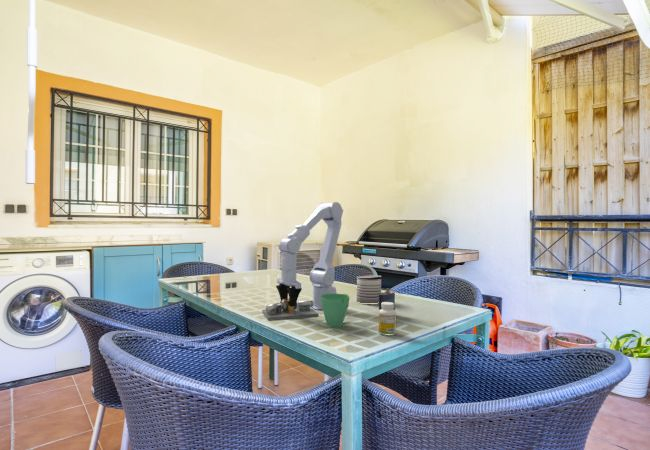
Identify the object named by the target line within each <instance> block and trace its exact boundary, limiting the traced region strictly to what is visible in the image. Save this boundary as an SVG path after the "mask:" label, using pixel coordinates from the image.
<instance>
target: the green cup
mask: <svg viewBox="0 0 650 450" xmlns="http://www.w3.org/2000/svg"><path fill="white" fill-rule="evenodd" d="M349 302H350V296H349V294H347V293H343V294H342V293H337V294H324V295H321V303H322V308H323V309H322V313H323V315H324V319H325V322H326V325H327V327H329V328H341V327H342V326H343V323H344V321H345V318H346V315H347V312H348V308H349V306H350V305H349Z"/></svg>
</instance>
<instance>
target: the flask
mask: <svg viewBox="0 0 650 450" xmlns="http://www.w3.org/2000/svg"><path fill="white" fill-rule="evenodd" d="M395 294H396V292H395V291H391V288H386V289H385V291H384V292H381V293H380V294H379V304H378V312H379V311H380V309H382V307H381V303H382V302H392V303H394V308H393V310H395V309H396V308H395V307H396V305H395V302H396V301H395V300H396V299H395V298H396V297H395V296H396V295H395ZM395 311H396V310H395Z"/></svg>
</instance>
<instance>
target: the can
mask: <svg viewBox="0 0 650 450" xmlns="http://www.w3.org/2000/svg"><path fill="white" fill-rule="evenodd" d="M381 277H382V275H359V276H356V277H355V278H356V303H357V302H360V303H378V302H379V294H380V293H382V278H381ZM360 303H359V304H360Z"/></svg>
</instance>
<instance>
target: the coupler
mask: <svg viewBox="0 0 650 450" xmlns="http://www.w3.org/2000/svg"><path fill="white" fill-rule="evenodd" d="M297 302H298V301H297ZM297 302H296V306H292V307H291V306H290V303H289V297H288V298H286V299H283V301H281V300H280V301H279V303H280V304H281V311H286V312H294V310H295V309H296V308H297Z"/></svg>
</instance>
